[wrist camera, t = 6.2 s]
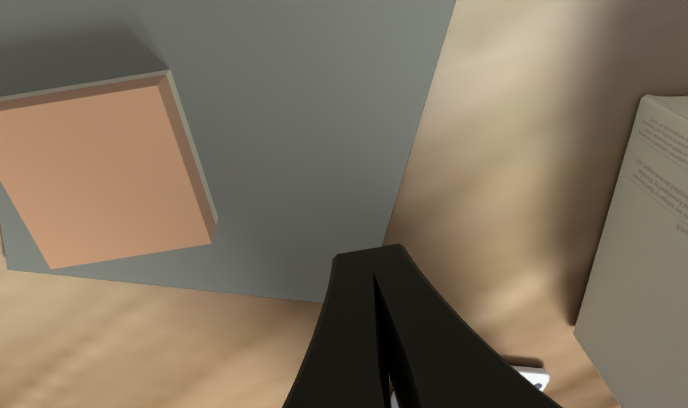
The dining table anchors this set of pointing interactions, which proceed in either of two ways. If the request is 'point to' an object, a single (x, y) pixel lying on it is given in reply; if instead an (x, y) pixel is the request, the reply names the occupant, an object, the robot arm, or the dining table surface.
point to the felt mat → (249, 122)
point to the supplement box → (644, 267)
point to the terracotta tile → (105, 170)
